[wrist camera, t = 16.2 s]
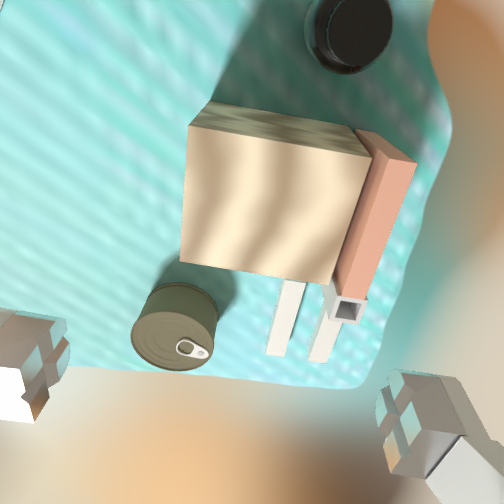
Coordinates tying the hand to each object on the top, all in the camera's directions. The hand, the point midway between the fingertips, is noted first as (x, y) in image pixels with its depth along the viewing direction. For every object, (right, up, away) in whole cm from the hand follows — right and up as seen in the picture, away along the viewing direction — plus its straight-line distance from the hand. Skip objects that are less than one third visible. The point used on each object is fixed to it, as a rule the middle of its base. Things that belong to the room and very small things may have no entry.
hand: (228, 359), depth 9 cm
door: (+13, +9, +36) cm, 39 cm away
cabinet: (+4, +11, +37) cm, 39 cm away
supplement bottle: (+9, +25, +28) cm, 39 cm away
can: (-11, -7, +49) cm, 51 cm away
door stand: (+9, -7, +48) cm, 49 cm away
